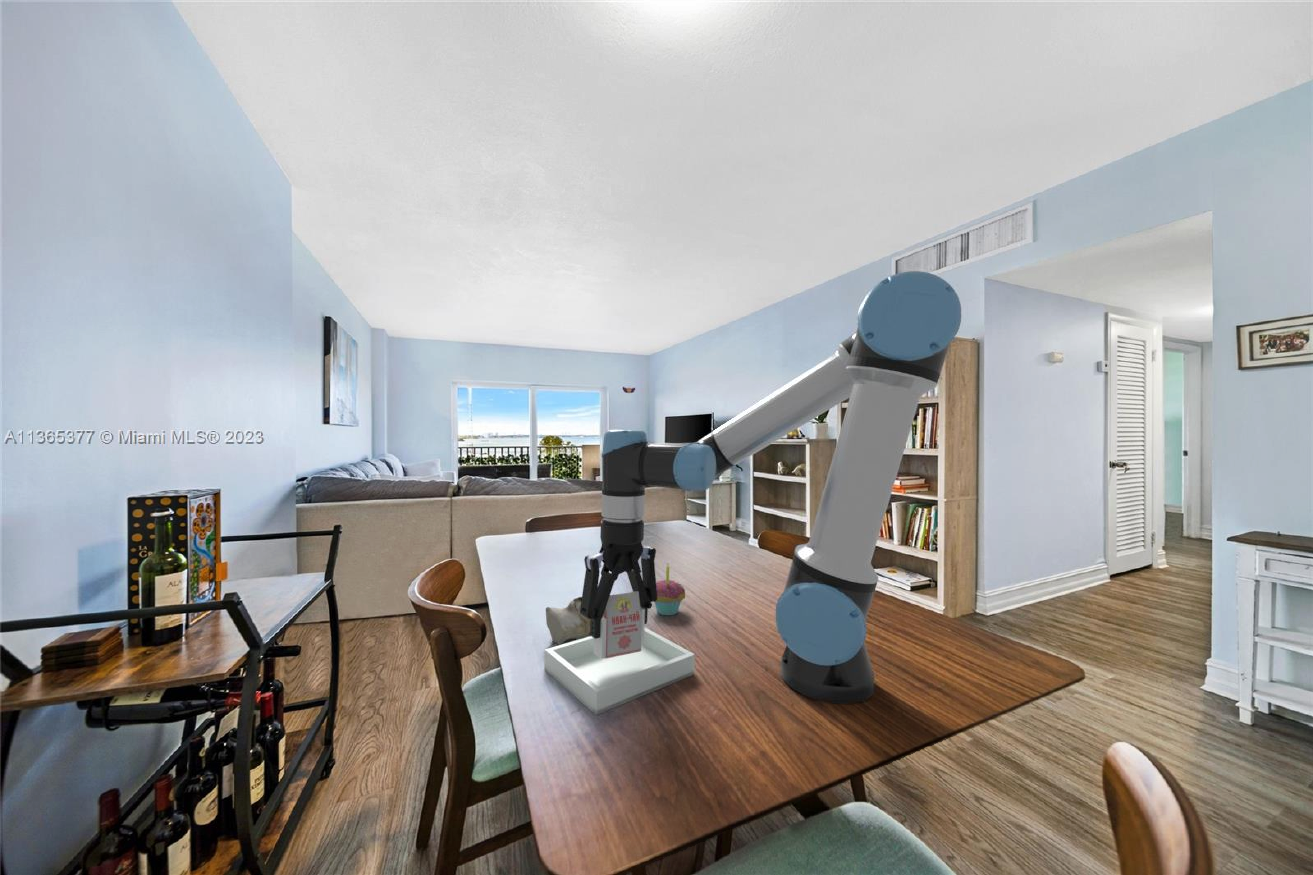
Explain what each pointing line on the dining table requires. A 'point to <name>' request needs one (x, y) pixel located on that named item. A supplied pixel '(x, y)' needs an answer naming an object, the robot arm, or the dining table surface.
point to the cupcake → (668, 595)
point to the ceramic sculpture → (567, 622)
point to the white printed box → (623, 624)
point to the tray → (617, 670)
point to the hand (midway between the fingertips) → (619, 648)
